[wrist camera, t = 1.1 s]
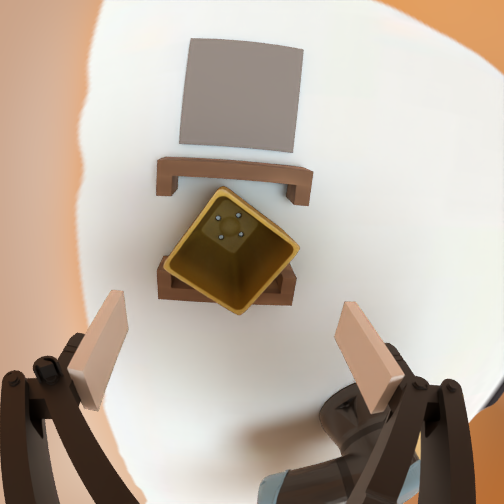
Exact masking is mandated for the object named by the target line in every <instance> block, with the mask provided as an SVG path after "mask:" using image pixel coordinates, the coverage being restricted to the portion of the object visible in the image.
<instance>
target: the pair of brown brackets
mask: <svg viewBox="0 0 504 504" xmlns="http://www.w3.org/2000/svg"><path fill="white" fill-rule="evenodd" d="M178 176H189V177H208V178H224V179H238V180H251V181H262V182H273V183H283V184H288V186H287V194H286V197H287V198H288V199H289V200H290V201H291V202H292V203H293V204H294V205H301V206H309V199H310V192H311V185H312V178H313V171H310V170H308V169H306V168H303V167H296V166H288V165H279V164H270V163H259V162H248V161H236V160H223V159H206V158H185V157H164V158H161V159H159V160H157V185H156V196H172V195H173V194H174V192H175V191H176V190H177V189H178ZM167 258H168V256H163V258H162V261H161V263H160V265H159V267H158V269H157V284H158V299H167V300H180V301H195V302H212V303H217V302H215V301H213V300H212V299H210V298H208V297H207V296H205V295H204V294H202V293H200V292H199V291H197V290H196V289H194V288H193V287H191V286H189V285H188V284H186V283H185V282H183V281H181V280H180V279H178V278H177V277H175V276H173V275H172V274H170V273H169V272H167V271H166V270H165V269H164V268H163V265H164V262H165V261H166V259H167ZM296 279H297V278H296V276H295V274H294V272H293V270H292V267H291V265H290V263H289V264H288V265H287V266H286V267H285V268H284V269H283V270H282V271H281V273H280V274H279V275H278V276H277V277H276V278H275V279H274V280H273V281H272V283H271V284H270V285H269V286H268V287H267V288H266V289H265V290H264V291H263V293H262V294H261V295H260V296H259V297H258V298H257V299H256V300H255V302H254V303H253V304H256V305H290V306H292V301H293V295H294V290H295V285H296Z"/></svg>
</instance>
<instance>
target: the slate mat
mask: <svg viewBox="0 0 504 504" xmlns="http://www.w3.org/2000/svg"><path fill="white" fill-rule="evenodd" d="M302 61H303V49H298V48H292V47H286V46H280V45H273V44H266V43H258V42H249V41H238V40H224V39H200V38H191V42H190V48H189V55H188V63H187V70H186V79H185V87H184V96H183V106H182V117H181V128H180V141H179V144H199V145H217V146H232V147H244V148H255V149H265V150H274V151H283V152H291V153H293V147H294V138H295V129H296V120H297V111H298V102H299V92H300V82H301V72H302Z"/></svg>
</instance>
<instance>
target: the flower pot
mask: <svg viewBox="0 0 504 504" xmlns="http://www.w3.org/2000/svg"><path fill="white" fill-rule="evenodd" d="M237 213H240V214H241V217H240V218H237V217H236V214H237ZM216 216H220V217H221V219H220V220H216ZM240 232H242V233H243V234H244V235H243V236H242V237H240V236H239V233H240ZM219 235H223V236H224V238H223V239H219ZM299 249H300V247H299V245H298V244H297V243H296V242H295V241H294V240H293V239H292V238H291V237H290V236H289V235H288V234H287V233H286V232H285V231H284V230H283V229H282V228H280V227H279V226H278V225H276V224H275V223H273V222H272V221H271V220H269V219H268V218H267V217H265V216H264V215H263V214H261V213H260V212H259V211H257V210H256V209H255V208H253V207H252V206H251V205H249V204H248V203H247V202H246V201H244V200H243V199H242V198H240V197H239V196H238V195H236V194H235V193H234V192H233V191H231V190H230V189H229V188H227V187H225V186H222V187H220V188H219V189H218V190H217V191H216V192H215V194H214V195H213V197H212V198H211V199H210V201H209V202H208V203H207V205H206V206H205V207H204V209H203V210H202V211H201V213H200V214H199V215H198V217H197V218H196V220H195V221H194V222H193V224H192V225H191V226H190V228H189V229H188V230H187V232H186V233H185V234H184V236H183V237H182V238H181V240H180V241H179V242H178V244H177V245H176V246H175V248H174V249H173V251H172V252H171V254H170V255H169V256H168V258H167V259H166V261H165V262H164V265H163V268H164V269H165V270H166V271H167V272H169V273H170V274H172V275H173V276H175V277H177V278H178V279H180V280H181V281H183V282H185V283H186V284H188V285H189V286H191V287H193V288H194V289H196V290H197V291H199V292H200V293H202V294H204V295H205V296H207V297H208V298H210V299H212V300H213V301H215V302H217V303H218V304H220V305H221V306H223V307H225V308H226V309H228V310H229V311H231V312H233V313H235V314H237V315H241V314H243V313H244V312H245V311H246V310H247V309H248V308H249V307H250V306H251V305H252V304H253V303H254V302H255V300H256V299H257V298H258V297H259V296H260V295H261V294H262V293H263V291H264V290H265V289H266V288H267V287H268V286H269V285H270V284H271V283H272V281H273V280H274V279H275V278H276V277H277V276H278V275H279V274H280V273H281V271H282V270H283V269H284V268H285V267H286V266H287V265H288V264H289V263H290V261H291V260H292V259H293V258H294V257H295V255H296V254H297V253H298V251H299Z"/></svg>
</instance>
